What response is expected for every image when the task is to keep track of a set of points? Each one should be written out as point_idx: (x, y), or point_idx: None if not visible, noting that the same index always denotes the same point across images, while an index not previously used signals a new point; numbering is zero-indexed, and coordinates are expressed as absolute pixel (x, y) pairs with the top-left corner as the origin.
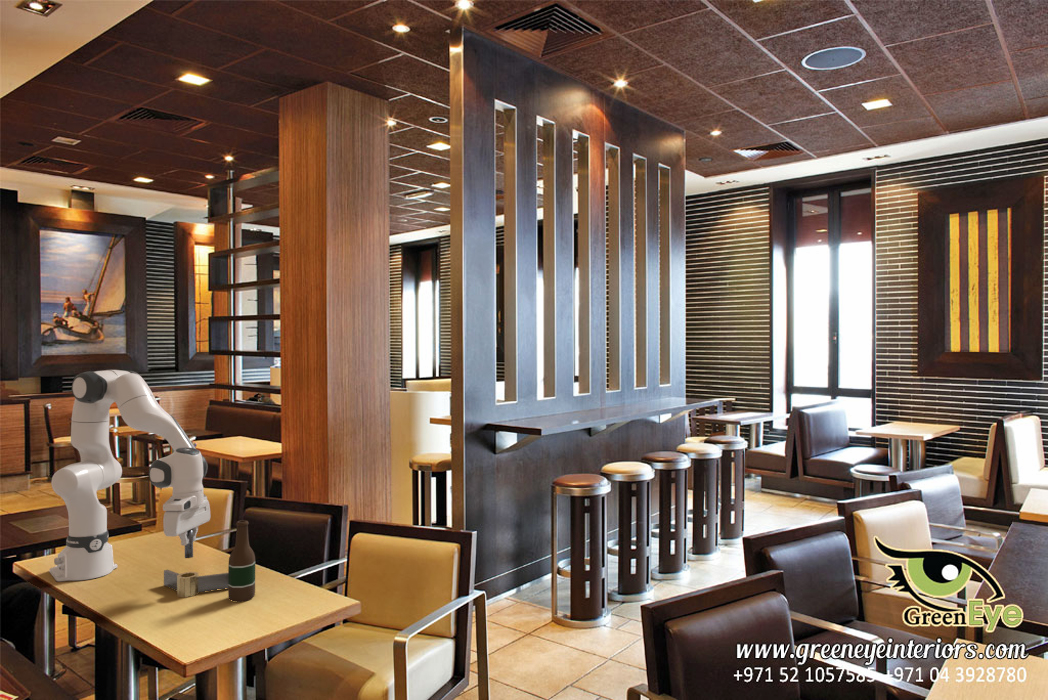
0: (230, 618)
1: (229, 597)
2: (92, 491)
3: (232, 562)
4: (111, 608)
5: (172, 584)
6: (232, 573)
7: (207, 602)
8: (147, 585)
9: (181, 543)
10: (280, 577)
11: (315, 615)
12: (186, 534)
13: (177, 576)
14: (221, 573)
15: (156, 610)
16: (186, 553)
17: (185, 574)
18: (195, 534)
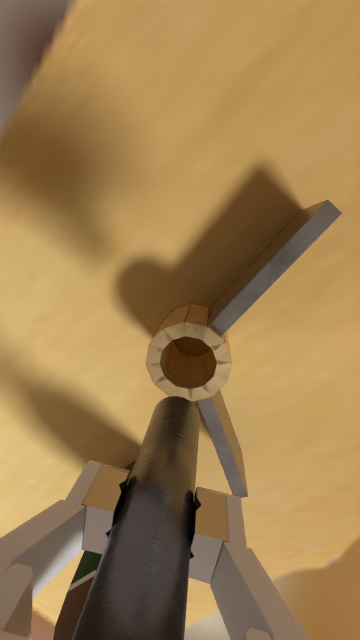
0: (19, 484)
1: (129, 467)
2: None
3: (64, 609)
4: (61, 118)
5: (254, 264)
6: (83, 556)
7: (118, 412)
8: (321, 129)
9: (82, 471)
10: (314, 550)
11: (48, 613)
12: (90, 589)
13: (170, 327)
14: (235, 460)
15: (53, 292)
16: (147, 429)
17: (210, 345)
18: (221, 603)
